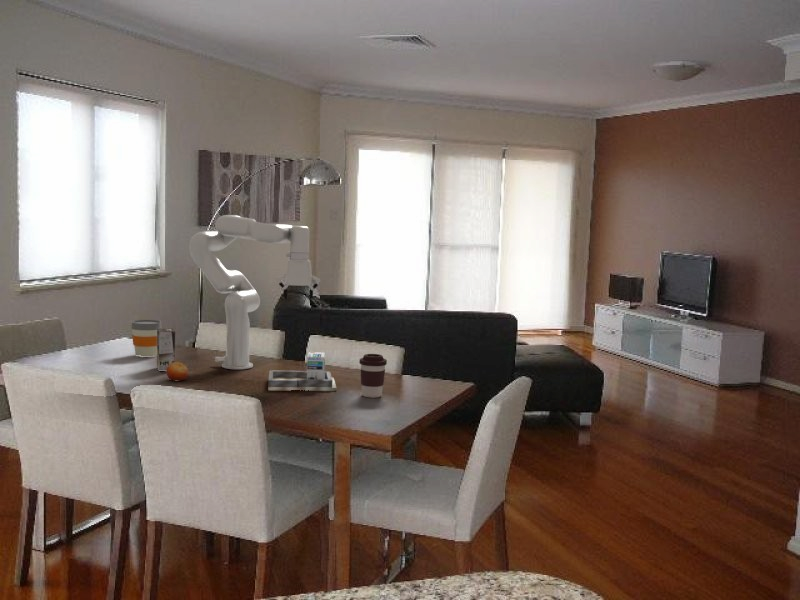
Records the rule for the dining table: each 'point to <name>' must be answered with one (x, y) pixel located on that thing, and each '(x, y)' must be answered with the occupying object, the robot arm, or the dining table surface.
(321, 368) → the light bulb box
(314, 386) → the gray shallow tray
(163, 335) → the coffee box
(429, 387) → the dining table surface
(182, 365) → the fruit
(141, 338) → the reusable coffee cup
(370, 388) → the coffee cup
